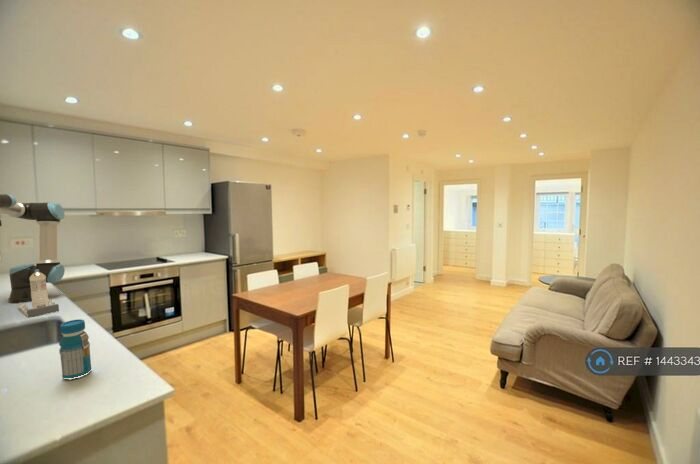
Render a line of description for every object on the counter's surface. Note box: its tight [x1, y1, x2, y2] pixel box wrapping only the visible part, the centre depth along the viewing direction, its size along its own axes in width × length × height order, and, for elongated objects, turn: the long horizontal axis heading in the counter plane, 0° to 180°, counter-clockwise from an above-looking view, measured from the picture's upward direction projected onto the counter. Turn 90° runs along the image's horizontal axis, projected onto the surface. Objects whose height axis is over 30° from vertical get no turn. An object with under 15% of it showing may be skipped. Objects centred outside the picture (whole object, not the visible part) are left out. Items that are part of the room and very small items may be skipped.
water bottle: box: [29, 270, 49, 309], centre depth 185 cm, size 7×7×25 cm
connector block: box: [27, 303, 60, 318], centre depth 182 cm, size 2×13×4 cm, turn 144°
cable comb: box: [17, 297, 56, 318], centre depth 190 cm, size 26×13×4 cm, turn 54°
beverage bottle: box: [58, 318, 92, 379], centre depth 116 cm, size 8×8×20 cm
